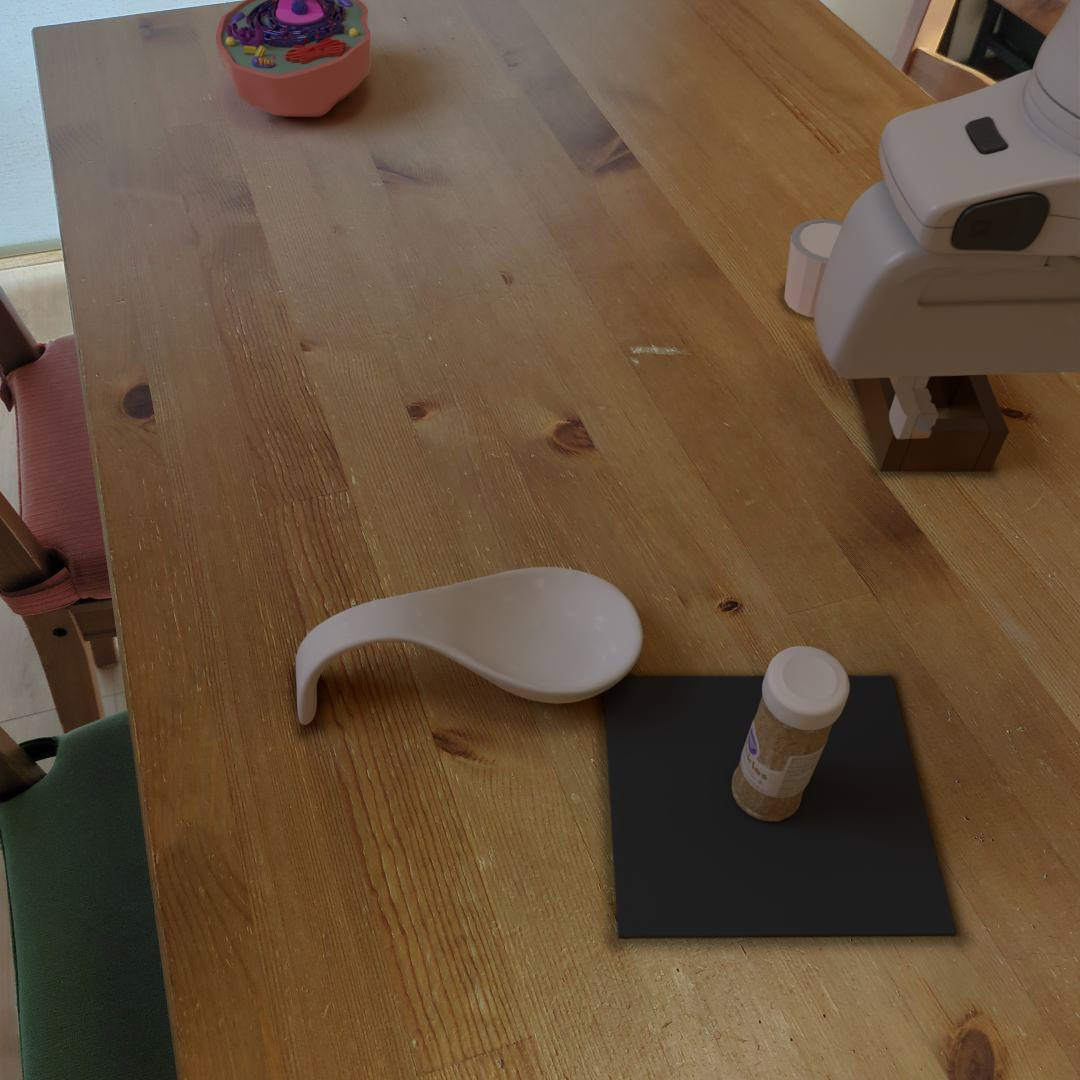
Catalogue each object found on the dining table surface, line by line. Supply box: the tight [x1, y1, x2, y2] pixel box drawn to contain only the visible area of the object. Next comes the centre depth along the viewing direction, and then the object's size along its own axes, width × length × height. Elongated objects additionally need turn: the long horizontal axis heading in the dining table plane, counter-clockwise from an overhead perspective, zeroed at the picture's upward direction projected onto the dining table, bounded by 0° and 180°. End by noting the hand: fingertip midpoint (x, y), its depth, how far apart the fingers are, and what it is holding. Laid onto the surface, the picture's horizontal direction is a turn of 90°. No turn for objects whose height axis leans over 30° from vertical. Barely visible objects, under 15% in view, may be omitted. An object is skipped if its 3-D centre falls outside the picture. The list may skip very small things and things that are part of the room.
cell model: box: [215, 0, 372, 118], centre depth 122 cm, size 17×20×11 cm
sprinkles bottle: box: [732, 645, 850, 822], centre depth 66 cm, size 5×5×13 cm
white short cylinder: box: [784, 218, 844, 319], centre depth 102 cm, size 7×7×7 cm
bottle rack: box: [853, 375, 1010, 473], centre depth 94 cm, size 9×16×5 cm, turn 1°
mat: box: [603, 675, 958, 939], centre depth 71 cm, size 20×18×1 cm
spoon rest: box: [295, 566, 644, 726], centre depth 74 cm, size 24×12×7 cm, turn 102°
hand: (1005, 426), depth 52 cm, fingers open, 8 cm apart
